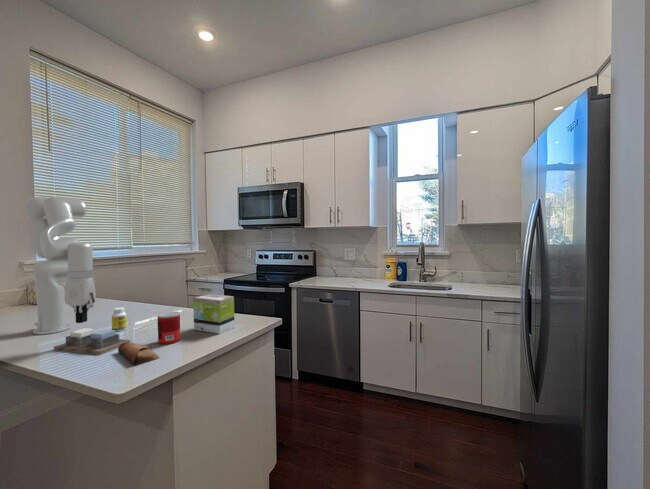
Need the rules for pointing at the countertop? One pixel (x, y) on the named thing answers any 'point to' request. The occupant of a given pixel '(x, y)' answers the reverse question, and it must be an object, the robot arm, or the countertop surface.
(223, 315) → the tea box
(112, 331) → the light blue block
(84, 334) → the white key
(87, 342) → the key panel
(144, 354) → the sunglasses case
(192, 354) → the countertop surface
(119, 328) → the supplement bottle
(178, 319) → the canned food
